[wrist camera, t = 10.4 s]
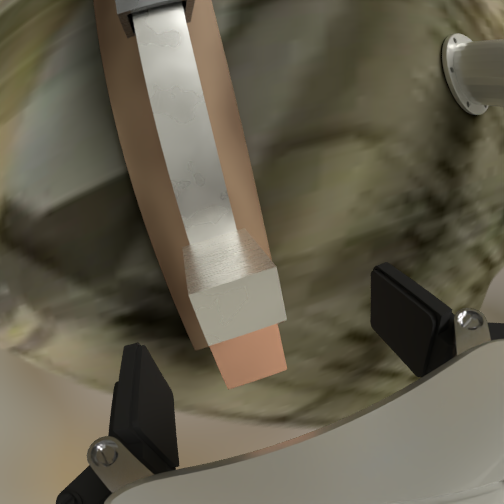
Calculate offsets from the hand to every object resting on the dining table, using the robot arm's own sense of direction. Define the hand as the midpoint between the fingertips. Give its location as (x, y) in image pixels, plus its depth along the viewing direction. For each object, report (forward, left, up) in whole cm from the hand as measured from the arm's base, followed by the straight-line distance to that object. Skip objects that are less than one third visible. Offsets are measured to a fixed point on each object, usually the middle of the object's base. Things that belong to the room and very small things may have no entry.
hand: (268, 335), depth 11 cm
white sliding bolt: (+1, -6, -12) cm, 13 cm away
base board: (+1, -11, -18) cm, 21 cm away
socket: (+1, +7, -16) cm, 18 cm away
